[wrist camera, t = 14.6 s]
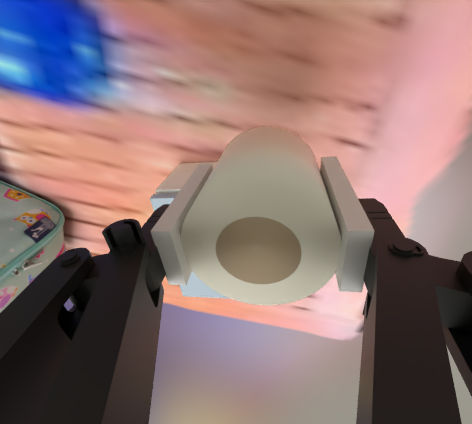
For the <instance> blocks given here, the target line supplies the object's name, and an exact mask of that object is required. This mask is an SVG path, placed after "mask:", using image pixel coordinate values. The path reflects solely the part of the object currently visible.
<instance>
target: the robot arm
mask: <svg viewBox="0 0 472 424" xmlns="http://www.w3.org/2000/svg"><path fill="white" fill-rule="evenodd" d="M212 170H213V166H212V163H206V164H199V165H198V166H197V168H196V169H195V170H194V172H193V173H192V175H191V176H190V177H189V179H188V180H187V181H186V183H185V184H184V186H183V187H182V188H181V190H180V191H179V193H178V194H177V195H176V197H175V198H174V199H173V201H172V202H171V204H163V205H162V206H161V207H159V208H158V209H156V210H155V211H154V213H153V214H152V215H151V217H150V218H149V219H148V220H147V222H146V223H145V224H144V225H143V227H142V228H141V226H140V224H139V222H138V221H137V220H134V219H124V220H120V221H117V222H115V223H113V224H111V225H109V226H108V227H106V228H105V229H104V230H103V232H102V233H103V236H104V238H105V240H106V242H107V244H108V246H109V248H110V252H109V253H108V254H103V255H99V256H94V257H92V255H91V253H90V252H89V250H88V249H86V248H76V249H71V250H68V251H66V252H65V253H63V254H61V255H59V256H58V257H57V258H56V259H54V260H53V261H52V262H51V263H50V264H49V265H48V266H47V267H46V268H45V269H44V270H43V271H42V272H41V273H40V274H39V275H38V276H37V277H36V278H35V279H34V280H33V281H32V282H31V283H30V284H29V285H28V286H27V287H26V288H25V289H24V290H23V291H22V292H21V293H20V294H19V295H18V296H17V297H16V298H15V299H14V300H13V301H12V302H11V303H10V304H9V305H8V306H7V307H6V308H5V309H4V310H3V311H2V312H1V313H0V424H148V423H149V414H150V406H151V397H152V389H153V380H154V372H155V362H156V355H157V346H158V337H159V329H160V320H161V311H162V303H163V295H164V289H163V286H162V283H161V282H162V281H163V279H164V277H165V275H166V277H167V280H168V283H169V285H187V282H188V280H189V277H190V275H191V272H192V269H191V268H190V266H189V265H188V263H187V260H186V257H185V253H184V249H183V246H182V242H181V231H182V226H183V222H184V219H185V217H186V215H187V213H188V211H189V210H190V208H191V206H192V205H193V203H194V201H195V199H196V198H197V196H198V194H199V193H200V191H201V189H202V187H203V186H204V184H205V182H206V181H207V179H208V177H209V175H210V174H211V172H212ZM320 173H321V176H322V179H323V182H324V185H325V188H326V192H327V195H328V198H329V201H330V204H331V207H332V210H333V213H334V216H335V219H336V222H337V226H338V229H339V232H340V235H341V241H342V243H341V250H340V258H339V265H338V268H337V270H336V271H335V274H336V278H337V282H338V286H339V290H340V291H348V292H362V289H363V284H364V282H365V285H366V288H367V290H368V292H367V297H366V301H365V306H364V310H363V315H365V316H364V329H363V342H362V356H361V369H360V384H359V395H358V408H357V421H356V424H462V423H461V419H460V413H459V408H458V403H457V398H456V393H455V388H454V382H453V378H452V373H451V367H450V362H449V358H448V352H447V347H448V349H449V351H450V353H451V355H452V357H453V359H454V361H455V363H456V365H457V368H458V370H459V372H460V373H461V376H462V377H463V380H464V382H465V384H466V386H467V388H468V390H469V392H470V394H471V396H472V251H471V252H468V253H466V254H464V256H463V258H462V260H461V262H458V261H453V260H448V259H443V258H438V257H434V256H431V255H428V252H427V251H426V249H425V248H424V247H423V246H422V245H421V244H419V243H418V242H416V241H413V240H411V239H408V238H405V236H404V235H403V233H402V232H401V230H400V229H399V227H398V226H397V224H396V223H395V221H394V220H393V219H392V217H391V215H390V214H389V213H388V211H387V209H386V208H385V206H384V205H383V204H382V203H380V202H379V201H377V200H376V199H374V198H372V199H358V198H357V196H356V194H355V192H354V190H353V188H352V186H351V184H350V182H349V180H348V178H347V176H346V174H345V172H344V170H343V169H342V167H341V165H340V163H339V161H338V159H337V157H321V168H320ZM69 298H70V300H71V301H72V303H73V304H74V306H73V307H72V308H71V309H70V310H69V311H67V310H66V308H65V307H64V304H65V302H66V301H67V300H68V299H69ZM446 345H447V347H446Z"/></svg>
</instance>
